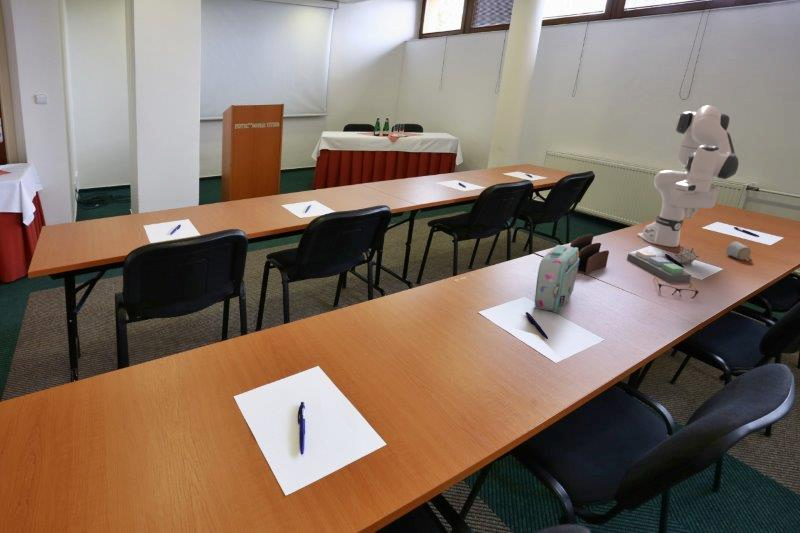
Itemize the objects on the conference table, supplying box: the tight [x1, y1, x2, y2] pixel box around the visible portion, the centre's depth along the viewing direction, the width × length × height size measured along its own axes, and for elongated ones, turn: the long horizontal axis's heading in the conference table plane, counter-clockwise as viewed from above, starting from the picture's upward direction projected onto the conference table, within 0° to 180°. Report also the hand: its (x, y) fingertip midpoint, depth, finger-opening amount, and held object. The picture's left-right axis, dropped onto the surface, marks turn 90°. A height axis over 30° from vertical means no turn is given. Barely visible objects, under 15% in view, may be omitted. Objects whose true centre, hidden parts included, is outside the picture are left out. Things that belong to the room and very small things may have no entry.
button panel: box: [626, 252, 692, 283], centre depth 214 cm, size 28×11×3 cm, turn 13°
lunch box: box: [534, 244, 579, 314], centre depth 169 cm, size 27×10×21 cm, turn 150°
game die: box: [674, 246, 699, 266], centre depth 224 cm, size 9×8×10 cm
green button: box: [662, 263, 685, 273], centre depth 206 cm, size 6×6×3 cm
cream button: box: [635, 250, 657, 259], centre depth 221 cm, size 6×6×3 cm
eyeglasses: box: [653, 277, 700, 299], centre depth 193 cm, size 14×14×4 cm
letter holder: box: [569, 233, 610, 276], centre depth 209 cm, size 10×20×14 cm, turn 132°
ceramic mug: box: [726, 241, 752, 261], centre depth 239 cm, size 11×8×8 cm
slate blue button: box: [648, 256, 671, 266], centre depth 214 cm, size 6×6×3 cm
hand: (688, 217), depth 197 cm, fingers closed
